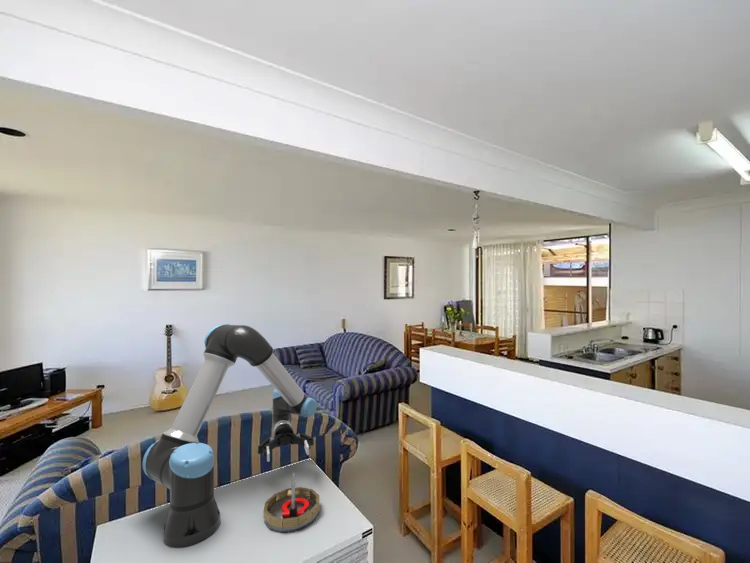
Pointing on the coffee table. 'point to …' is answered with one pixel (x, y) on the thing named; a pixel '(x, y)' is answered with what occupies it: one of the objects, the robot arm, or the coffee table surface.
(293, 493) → the tow hook
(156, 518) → the coffee table surface
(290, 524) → the wooden rimmed bowl
